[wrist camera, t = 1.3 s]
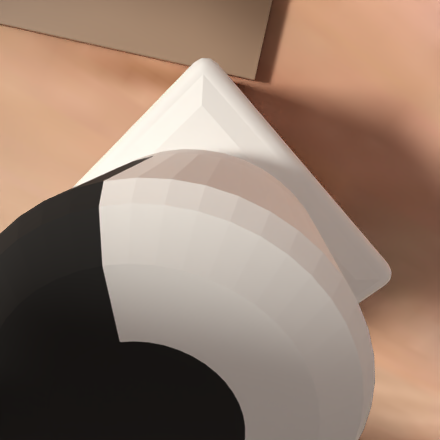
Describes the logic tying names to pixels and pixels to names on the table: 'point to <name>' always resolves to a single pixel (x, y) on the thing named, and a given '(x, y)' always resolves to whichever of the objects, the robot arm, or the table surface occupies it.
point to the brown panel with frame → (154, 27)
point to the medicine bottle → (188, 289)
